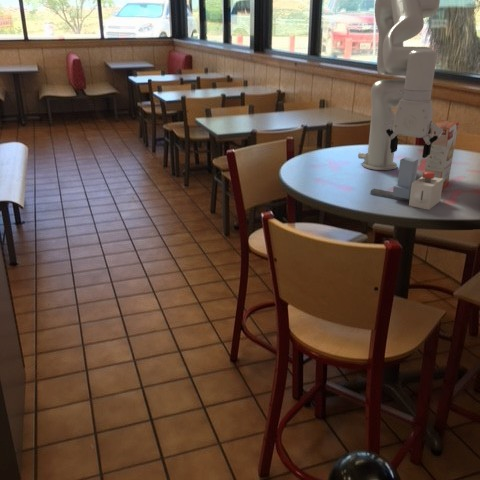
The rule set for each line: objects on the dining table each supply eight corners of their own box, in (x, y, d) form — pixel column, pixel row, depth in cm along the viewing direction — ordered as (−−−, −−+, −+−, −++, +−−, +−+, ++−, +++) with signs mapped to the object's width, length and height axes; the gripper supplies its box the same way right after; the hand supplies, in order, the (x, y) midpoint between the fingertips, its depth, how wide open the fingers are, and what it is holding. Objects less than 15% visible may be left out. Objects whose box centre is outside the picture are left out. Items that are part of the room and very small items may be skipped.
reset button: (419, 183, 151) (421, 173, 150) (423, 180, 154) (425, 170, 153) (431, 184, 150) (432, 174, 148) (435, 182, 152) (436, 172, 151)
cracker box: (440, 193, 163) (450, 127, 155) (421, 191, 166) (430, 125, 158) (449, 183, 174) (459, 120, 166) (431, 180, 177) (440, 119, 169)
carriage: (392, 195, 156) (396, 160, 152) (401, 190, 161) (405, 156, 157) (408, 199, 153) (413, 163, 149) (417, 193, 158) (421, 158, 154)
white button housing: (408, 205, 152) (411, 183, 149) (420, 197, 160) (423, 175, 157) (428, 210, 149) (431, 186, 146) (440, 200, 156) (443, 178, 153)
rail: (370, 193, 163) (370, 190, 163) (373, 192, 165) (373, 188, 164) (413, 202, 155) (413, 198, 155) (416, 200, 157) (416, 196, 156)
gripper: (382, 94, 148) (376, 152, 155) (443, 100, 138) (433, 162, 146) (393, 91, 154) (386, 147, 161) (452, 96, 144) (442, 156, 151)
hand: (409, 154), depth 153 cm, fingers open, 9 cm apart
